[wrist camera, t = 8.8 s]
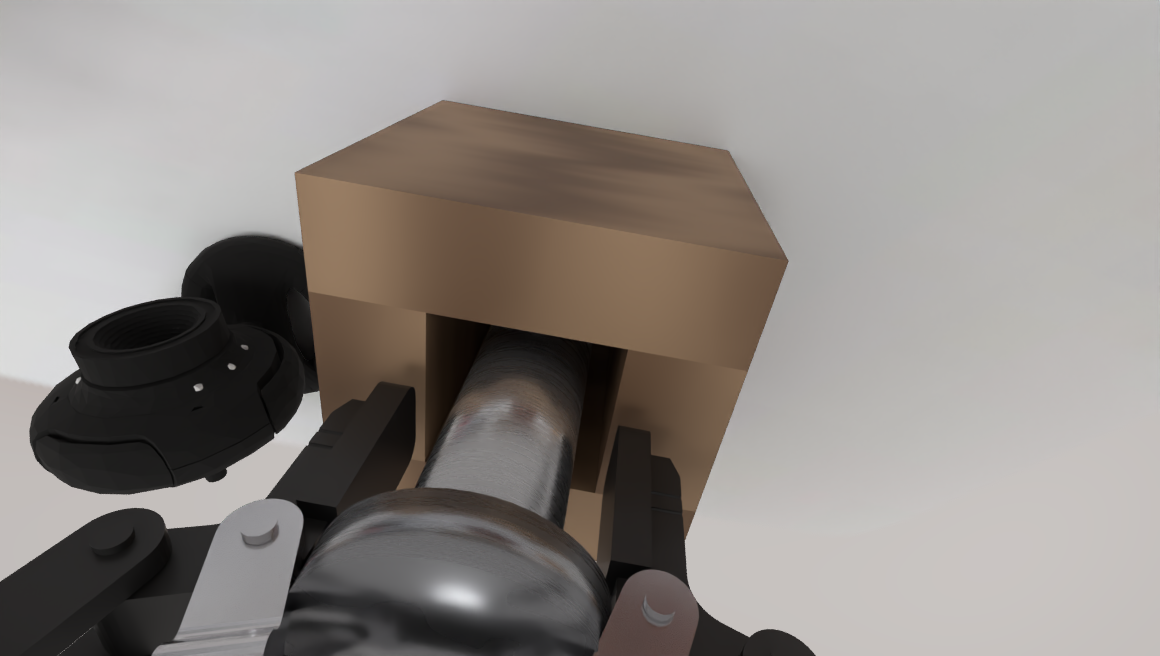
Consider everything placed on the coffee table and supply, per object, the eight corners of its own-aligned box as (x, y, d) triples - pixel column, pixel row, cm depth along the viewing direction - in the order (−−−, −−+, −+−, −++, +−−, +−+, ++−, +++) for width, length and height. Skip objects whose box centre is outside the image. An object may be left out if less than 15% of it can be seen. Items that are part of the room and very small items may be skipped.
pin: (642, 267, 16) (638, 599, 7) (611, 405, 18) (580, 772, 10) (469, 236, 16) (252, 526, 7) (462, 377, 18) (296, 718, 10)
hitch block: (728, 150, 19) (788, 260, 11) (663, 383, 24) (672, 575, 16) (442, 100, 19) (294, 172, 11) (437, 341, 25) (333, 511, 16)
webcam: (348, 234, 22) (162, 380, 14) (382, 386, 26) (253, 575, 18) (166, 228, 23) (-117, 363, 15) (225, 377, 27) (28, 554, 18)
